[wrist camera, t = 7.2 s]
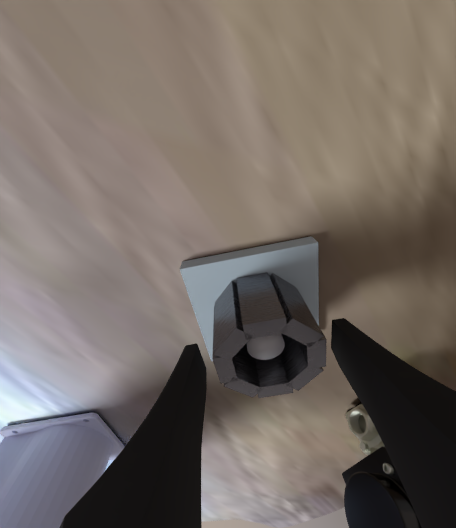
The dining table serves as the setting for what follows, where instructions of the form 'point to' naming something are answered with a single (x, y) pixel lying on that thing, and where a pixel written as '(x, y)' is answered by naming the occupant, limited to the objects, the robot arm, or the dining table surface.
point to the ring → (261, 325)
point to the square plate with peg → (249, 263)
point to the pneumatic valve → (374, 482)
